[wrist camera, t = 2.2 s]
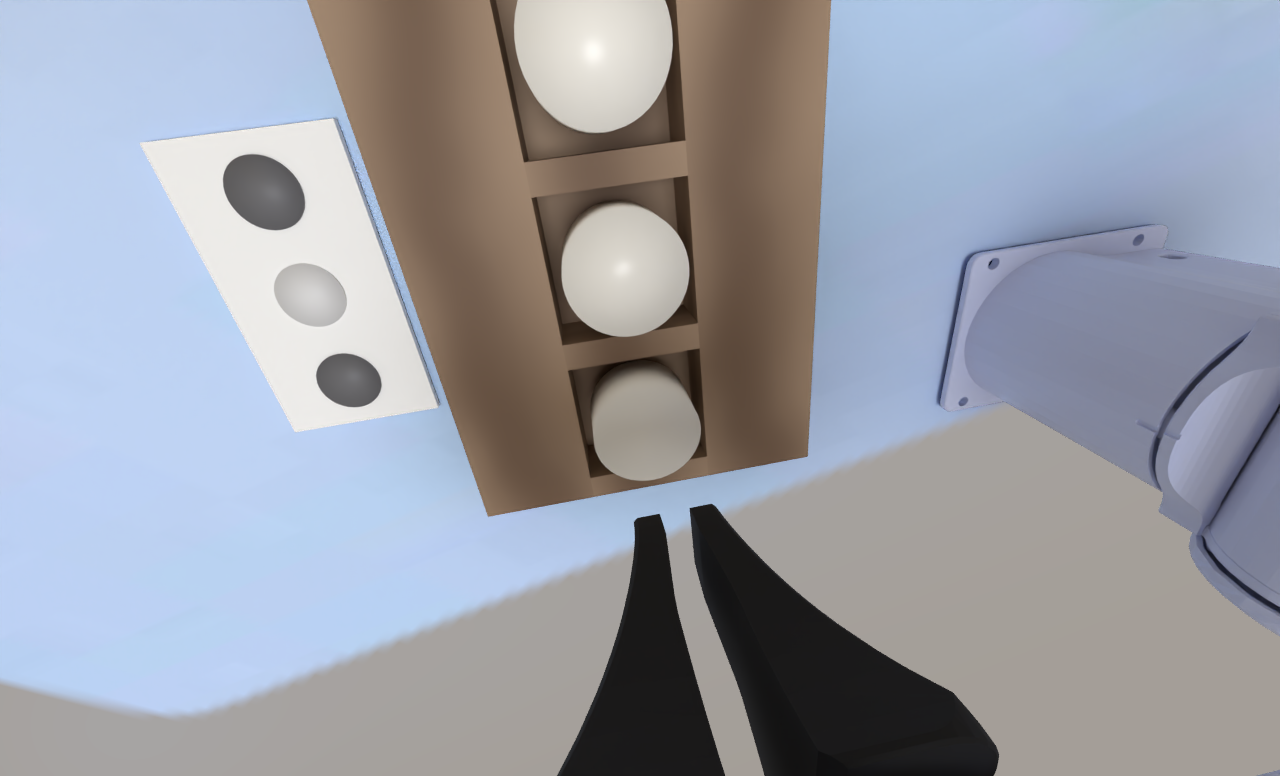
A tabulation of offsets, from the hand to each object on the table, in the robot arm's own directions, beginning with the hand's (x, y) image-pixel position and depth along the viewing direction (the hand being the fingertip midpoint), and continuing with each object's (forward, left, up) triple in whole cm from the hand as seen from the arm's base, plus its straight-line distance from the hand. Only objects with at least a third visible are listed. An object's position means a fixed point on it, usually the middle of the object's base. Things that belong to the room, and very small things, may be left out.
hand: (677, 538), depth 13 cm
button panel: (0, -6, -10) cm, 12 cm away
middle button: (0, -6, -8) cm, 10 cm away
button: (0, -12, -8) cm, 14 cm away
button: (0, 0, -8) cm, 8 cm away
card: (+11, -6, -10) cm, 16 cm away
